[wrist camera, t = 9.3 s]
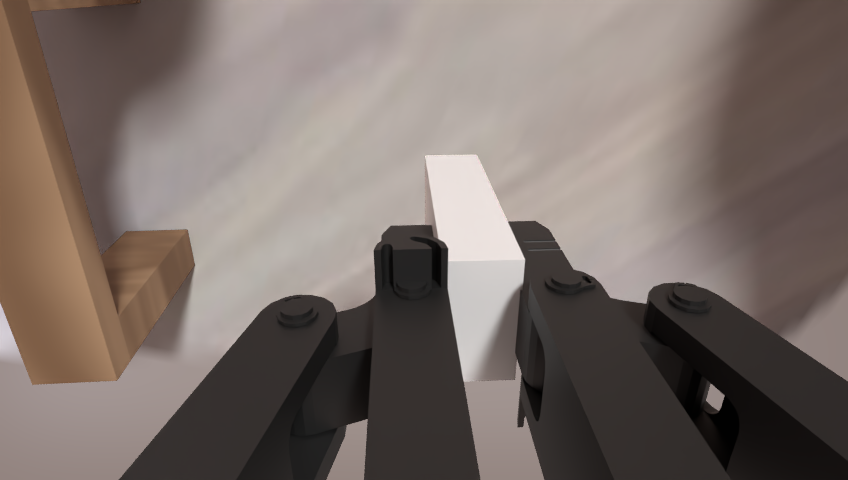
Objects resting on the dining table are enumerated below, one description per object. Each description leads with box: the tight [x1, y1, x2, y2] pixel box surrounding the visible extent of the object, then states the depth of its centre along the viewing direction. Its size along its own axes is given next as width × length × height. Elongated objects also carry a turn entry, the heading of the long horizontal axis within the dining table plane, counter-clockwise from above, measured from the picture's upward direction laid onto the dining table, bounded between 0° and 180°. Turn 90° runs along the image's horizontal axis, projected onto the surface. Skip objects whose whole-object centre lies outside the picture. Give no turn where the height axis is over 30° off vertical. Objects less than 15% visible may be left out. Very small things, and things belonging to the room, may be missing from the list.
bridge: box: [0, 0, 195, 385], centre depth 21 cm, size 3×14×9 cm, turn 0°
